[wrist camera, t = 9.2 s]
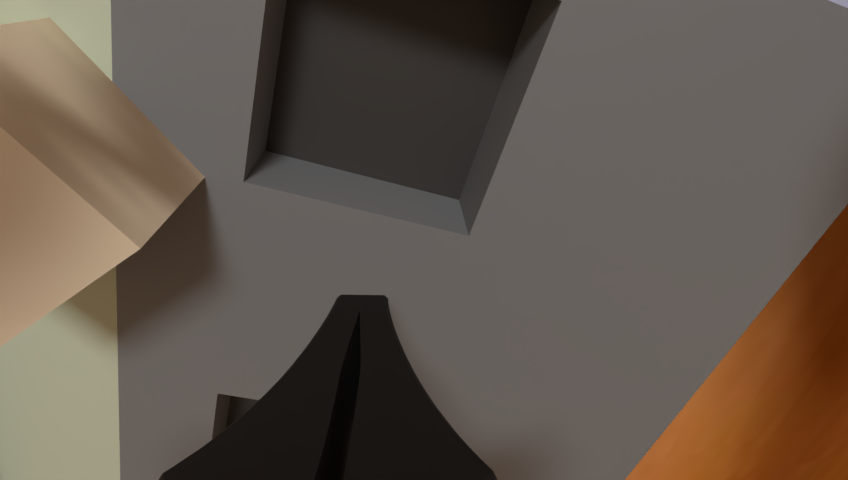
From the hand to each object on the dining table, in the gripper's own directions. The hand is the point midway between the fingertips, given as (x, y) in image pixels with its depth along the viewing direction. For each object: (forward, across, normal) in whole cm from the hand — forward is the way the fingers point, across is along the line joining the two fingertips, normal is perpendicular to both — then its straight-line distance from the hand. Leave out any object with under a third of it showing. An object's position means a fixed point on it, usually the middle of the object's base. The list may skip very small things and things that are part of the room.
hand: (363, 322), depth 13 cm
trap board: (+6, 0, +2) cm, 6 cm away
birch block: (+2, +8, -4) cm, 9 cm away
